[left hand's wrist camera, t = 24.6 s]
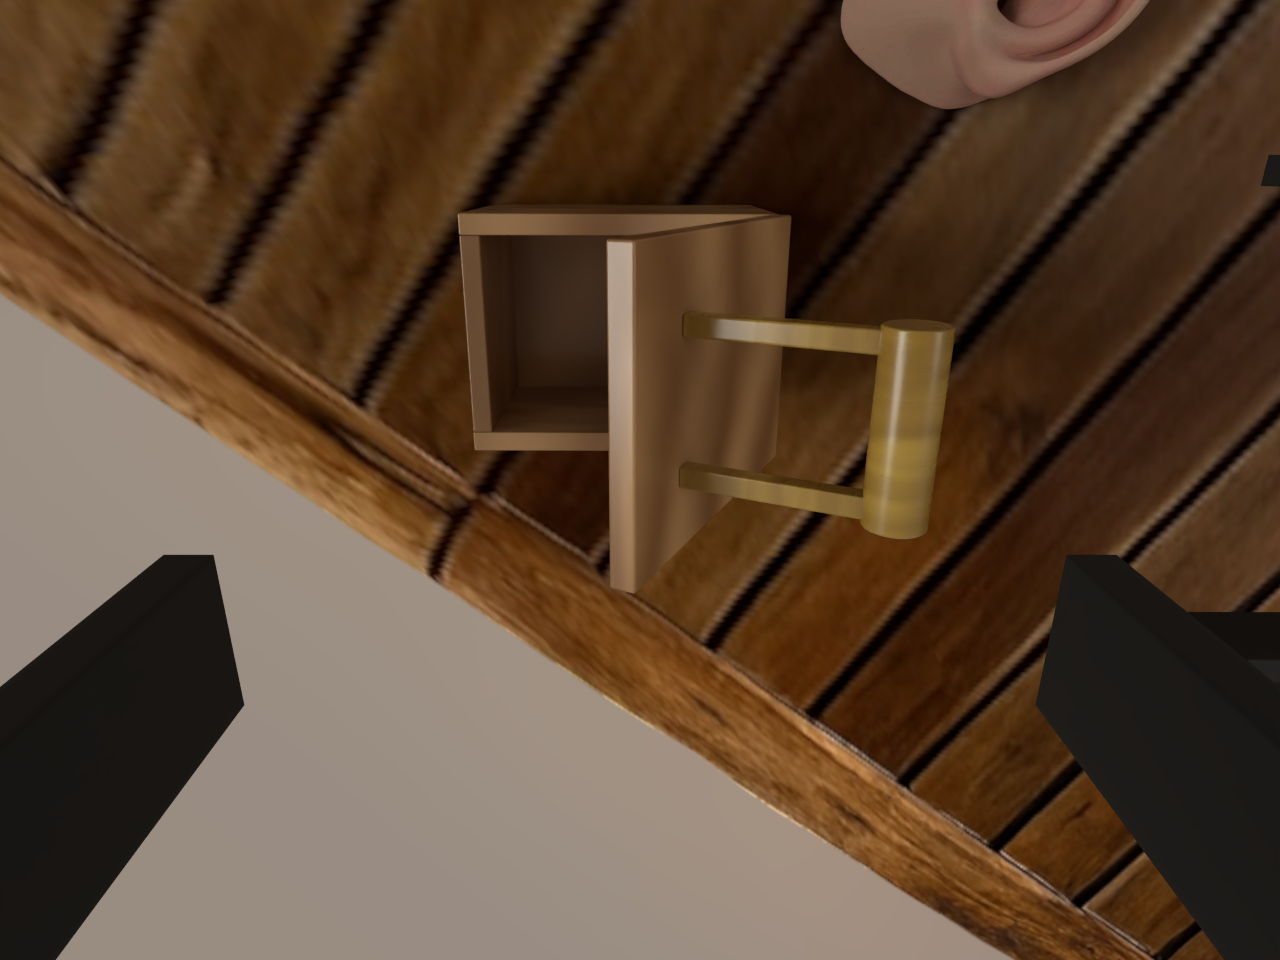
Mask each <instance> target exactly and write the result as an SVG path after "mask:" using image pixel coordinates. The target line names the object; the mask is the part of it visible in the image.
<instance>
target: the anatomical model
mask: <svg viewBox="0 0 1280 960" xmlns="http://www.w3.org/2000/svg"><path fill="white" fill-rule="evenodd" d="M1149 1H1150V0H843V4H842V11H841V28H842V33H843V36H844V38H845V40H846V42H847V44H848V45H849V47H850V48H851V49H852V51H853V52H854V53H855V54H856V55H857V56H858V57H859V58H860V59H861V60H862V61H863V62H864V63H865V64H867V65H868V66H869V67H870V68H872V69H873V70H874V71H875V72H877V73H878V74H879V75H881V76H882V77H883V78H884V79H886V80H887V81H888V82H890V83H891V84H892V85H894V86H895V87H897V88H898V89H900V90H901V91H903V92H905V93H907V94H909V95H911V96H913V97H915V98H917V99H919V100H921V101H922V102H924V103H927V104H929V105H931V106H934V107H938V108H942V109H957V108H962V107H966V106H970V105H973V104H976V103H979V102H981V101H984V100H987V99H989V98H999V97H1003V96H1006V95H1008V94H1011V93H1013V92H1015V91H1017V90H1019V89H1021V88H1023V87H1025V86H1027V85H1029V84H1032V83H1034V82H1036V81H1038V80H1040V79H1042V78H1044V77H1047V76H1049V75H1051V74H1053V73H1056V72H1058V71H1060V70H1062V69H1064V68H1067V67H1069V66H1071V65H1073V64H1075V63H1077V62H1079V61H1081V60H1083V59H1085V58H1087V57H1088V56H1090V55H1092V54H1093V53H1095V52H1097V51H1098V50H1100V49H1101V48H1103V47H1104V46H1105V45H1107V44H1108V43H1110V42H1111V41H1112V40H1113V39H1115V38H1116V37H1117V36H1118V35H1119V34H1120V33H1122V32H1123V31H1124V30H1125V29H1126V28H1127V27H1128V26H1129V25H1130V24H1131V23H1132V22H1133V20H1134V19H1135V18H1136V17H1137V16H1138V15H1139V14H1140V12H1141V11H1142V10H1143V9H1144V7H1145V6H1146V5H1147V4H1148V2H1149Z"/></svg>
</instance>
